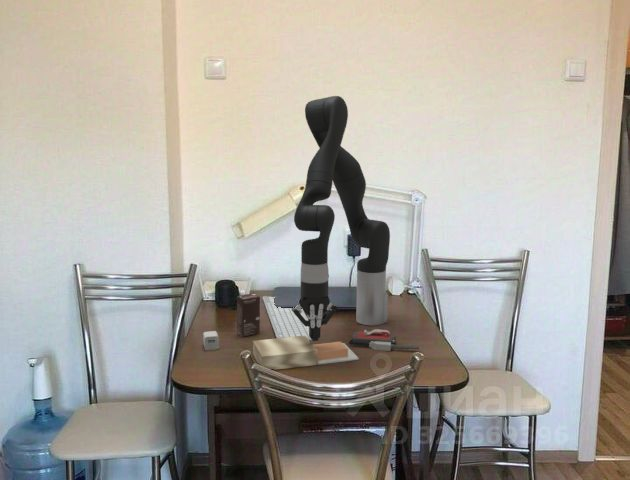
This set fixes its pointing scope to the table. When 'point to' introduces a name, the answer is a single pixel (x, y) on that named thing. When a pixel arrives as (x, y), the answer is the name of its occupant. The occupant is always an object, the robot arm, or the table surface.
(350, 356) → the mat
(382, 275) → the robot arm
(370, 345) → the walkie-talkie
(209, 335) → the usb wall charger
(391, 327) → the table surface
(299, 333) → the keyboard
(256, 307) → the box
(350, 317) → the table surface
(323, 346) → the tile
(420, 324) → the table surface
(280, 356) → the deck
